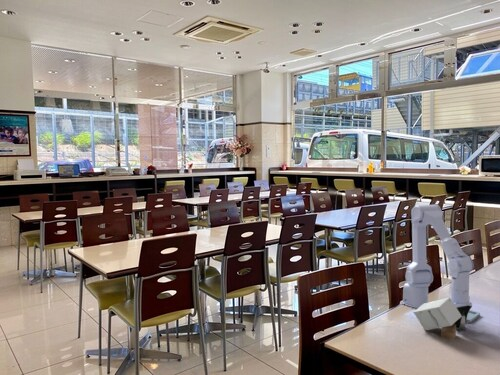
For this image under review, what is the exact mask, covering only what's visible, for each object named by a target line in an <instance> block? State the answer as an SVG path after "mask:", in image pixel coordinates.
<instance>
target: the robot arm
mask: <svg viewBox="0 0 500 375" xmlns="http://www.w3.org/2000/svg"><path fill="white" fill-rule="evenodd" d="M410 212H411V226H412V227H411V228H412V230H411V232H412V233H411V234H412V236H411V237H412V242H411V243H412V245H411V246H412V262H410V263H409V264H408V265H407V266H406V272H405V281H406V282H405V283H404V285H403V289H402V302H401V304H402V305H404V304H405V305H404V306H408V307H411V308H415V309H418V308H419V307H420V306H421V305H423V304H424V303H428V302H429V287H430V286H431V284H432V283H433V281H434V275H433V274H434V273H433V271H432V266H430V265H429V264H428V263H427V226H428V225H430V226H431V227H432V228H433V230H434V231H435V233H436V234H437V235H438V237H439V239H440V240H441V242H440V246H441V248H442V250H443V253H444V254H445V256H446V258H447V260H448V262H447V267H448V269H449V275H450V276H451V279H450V280H451V283H450V284H451V286H450V299H451V300H452V302H453V303H454V305H455V306H456V308H457V309H458V311H459V312H460V314H461V316H463V315H465V323H467V322H466V319H467V315H468V312H469V310H471V309H472V307H473V302H470V301H471V300H470V299H471V298H470V275H471V274H470V272H472V271H473V270H474V267H475V266H474V260H473V259H472V257H471V256H469V255H468V254H466V253H465V252H464V251H463V249H462V248H461V246H460V244H459V242H458V241H457V239H456V238H454V237H451V234H450V232H449V230H448V228H447V226H446V224H445V222H444V219H443V216H444V215H443V214H444V212H443V211H442V208H441V207H440V205H438V204H436V203H434V204H423V205H422V204H421V205H420V204H416V205H415V206H413V207H412V208H411V210H410ZM461 319H462V317H461V318H459V319H458V320H457V321H456V322H455V323H454V324H455V325H456V328H459V327H460V324H461Z"/></svg>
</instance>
